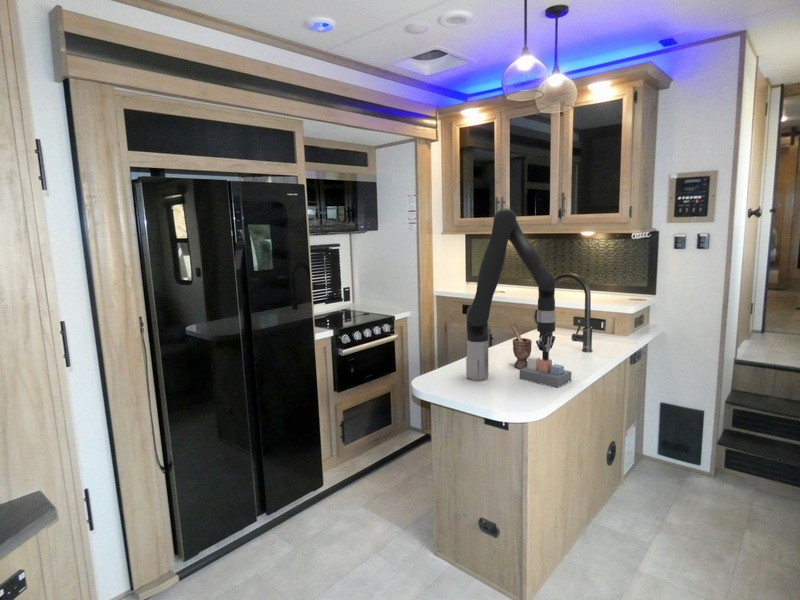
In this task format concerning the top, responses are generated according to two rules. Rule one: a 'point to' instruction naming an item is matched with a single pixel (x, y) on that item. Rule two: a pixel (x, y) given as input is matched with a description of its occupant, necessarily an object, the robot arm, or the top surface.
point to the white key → (533, 363)
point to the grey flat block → (545, 377)
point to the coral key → (545, 365)
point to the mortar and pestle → (520, 348)
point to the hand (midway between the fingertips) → (545, 359)
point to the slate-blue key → (557, 369)
